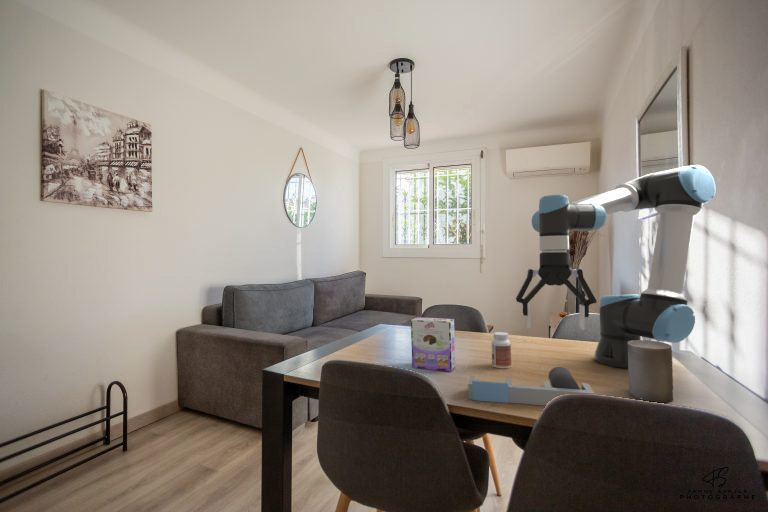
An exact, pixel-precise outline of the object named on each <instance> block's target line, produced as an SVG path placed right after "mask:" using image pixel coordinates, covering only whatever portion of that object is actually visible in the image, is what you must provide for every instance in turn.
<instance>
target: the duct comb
mask: <svg viewBox="0 0 768 512" xmlns="http://www.w3.org/2000/svg"><path fill="white" fill-rule="evenodd" d="M504 380H505V381H504V382H498V381H497V382H496V381H485V380H476V375H469V379H468V400H472V401H478V402H479V401H482V402H492V403H493V402H494V403H503V404H509V403H511V404H519V405H520V404H523V405H531V406H533V405H534V406H545V405H546V404H547V403H548V402H549V401H551V400H552V399H553V398H555V397H557V396H560V395H565V394H595V393H596V392H595V391H594V390H593V389H592V388H591V387H592V386H590V384H589V383H585V382H582V383H581V389H580V390H579V389H565V388H553V387H552V385H551V383H550V380H542V386H539V385H538V386H537V385H536V386H534V385H522V384H513V383H512V378H511V377H505V379H504ZM595 395H596V394H595Z"/></svg>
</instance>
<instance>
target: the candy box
mask: <svg viewBox="0 0 768 512" xmlns="http://www.w3.org/2000/svg"><path fill="white" fill-rule="evenodd" d="M410 334H411V335H410V336H411V338H410V340H411V365H412V366H411V368H413V369H414V368H415V369H422V370H424V369H425V370H431V371H432V370H433V371H443V372H452V371H453V370H454V369H455V368H456V341H455V339H456V338H455V337H456V336H455V335H456V333H455V319H454V318H438V317H421V316H418V317H414V318H412V319H411V320H410Z"/></svg>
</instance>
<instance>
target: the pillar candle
mask: <svg viewBox="0 0 768 512" xmlns="http://www.w3.org/2000/svg"><path fill="white" fill-rule="evenodd" d="M648 339H649V340H648ZM648 339H647V340H645V339H640V340H632V341H629V342H628V368H627V370H628V375H627V376H628V393H629V394H630V395H632V397H634V396H635V397H634V398H636V397H637V398H636V399H639V400H642V401H646V400H647V401H646V402H651V401H655V403H669V402H673V401H674V382H673V381H674V379H673V371H674V370H673V368H674V367H673V348H672V347H673V346H672V345H671V344H668V342H666V343H665V342H662V341H657V340H651V339H650V338H648ZM640 398H642V399H640Z"/></svg>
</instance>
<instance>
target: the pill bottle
mask: <svg viewBox="0 0 768 512" xmlns="http://www.w3.org/2000/svg"><path fill="white" fill-rule="evenodd" d="M511 345H512V344H511V341H510V339H509V333H508V332H505V331H504V332H502V331H496V332H493V339H492V340H491V364H492V365H491V366H492V367H494V368H495V369H496V368H497V369H504V370H505V369H509V368H511V367H512V352H511V351H512V350H511V349H512V348H511Z"/></svg>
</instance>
